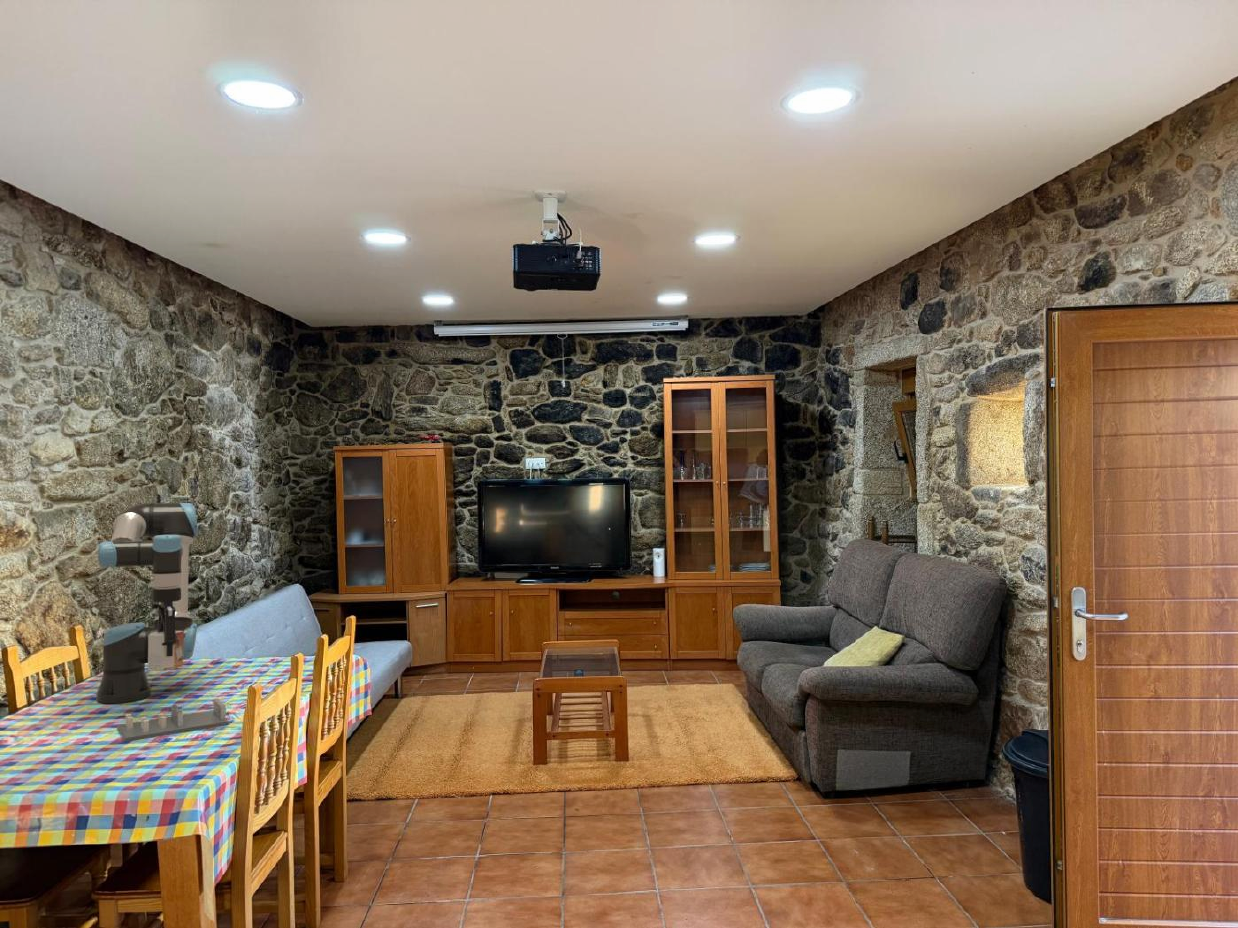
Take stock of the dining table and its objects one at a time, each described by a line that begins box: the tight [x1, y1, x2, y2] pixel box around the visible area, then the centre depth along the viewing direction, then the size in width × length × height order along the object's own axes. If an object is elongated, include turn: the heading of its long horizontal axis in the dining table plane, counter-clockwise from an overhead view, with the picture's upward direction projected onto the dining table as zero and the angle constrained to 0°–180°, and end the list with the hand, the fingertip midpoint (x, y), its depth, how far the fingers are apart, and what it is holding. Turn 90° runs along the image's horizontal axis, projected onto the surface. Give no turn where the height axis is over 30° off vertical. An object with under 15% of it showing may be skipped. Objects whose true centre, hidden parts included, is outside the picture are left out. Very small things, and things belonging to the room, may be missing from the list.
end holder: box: [170, 698, 227, 727], centre depth 248 cm, size 10×12×4 cm
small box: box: [147, 631, 184, 672], centre depth 251 cm, size 8×6×10 cm
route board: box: [116, 709, 229, 742], centre depth 245 cm, size 15×26×4 cm, turn 127°
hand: (166, 664), depth 251 cm, fingers closed on small box, 9 cm apart
